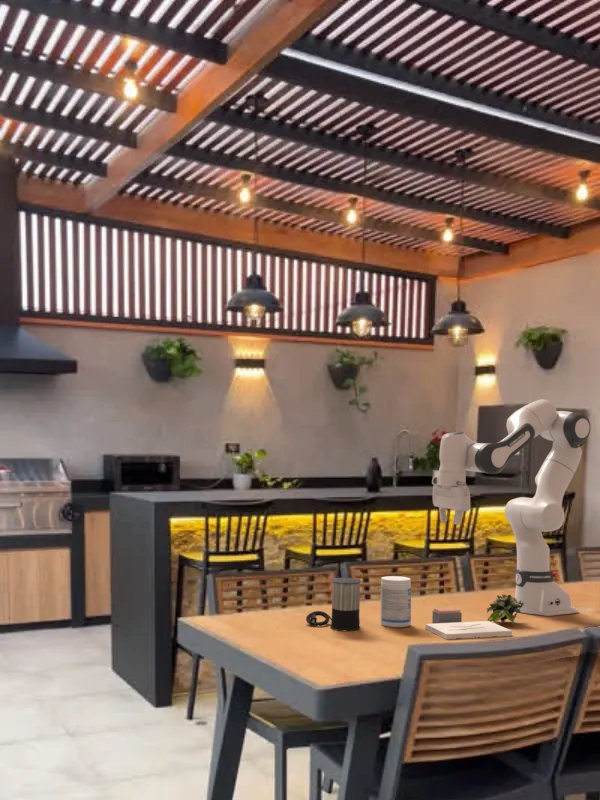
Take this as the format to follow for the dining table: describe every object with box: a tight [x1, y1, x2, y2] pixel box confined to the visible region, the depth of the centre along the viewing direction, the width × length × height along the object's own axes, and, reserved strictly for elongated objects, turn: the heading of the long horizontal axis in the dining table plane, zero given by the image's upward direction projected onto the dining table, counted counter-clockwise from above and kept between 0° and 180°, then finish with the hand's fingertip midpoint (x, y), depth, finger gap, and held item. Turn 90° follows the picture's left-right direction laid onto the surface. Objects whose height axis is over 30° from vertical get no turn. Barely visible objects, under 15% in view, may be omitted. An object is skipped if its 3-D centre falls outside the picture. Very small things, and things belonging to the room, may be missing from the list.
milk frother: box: [305, 577, 362, 632], centre depth 261 cm, size 14×16×15 cm
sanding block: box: [431, 607, 463, 624], centre depth 268 cm, size 8×4×5 cm, turn 106°
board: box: [424, 620, 513, 640], centre depth 257 cm, size 22×14×2 cm, turn 107°
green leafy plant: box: [486, 593, 524, 627], centre depth 270 cm, size 11×11×12 cm
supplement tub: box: [380, 575, 412, 629], centre depth 265 cm, size 10×10×15 cm
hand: (450, 522), depth 276 cm, fingers open, 8 cm apart
